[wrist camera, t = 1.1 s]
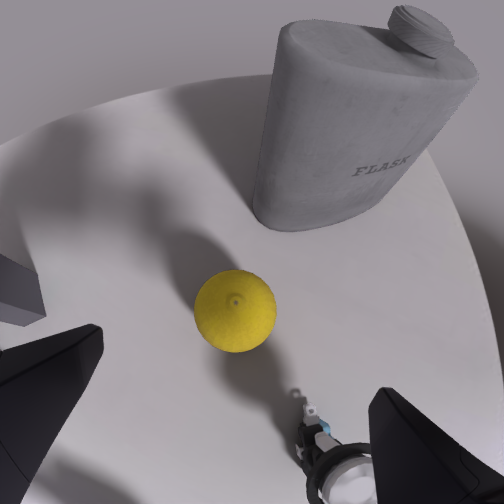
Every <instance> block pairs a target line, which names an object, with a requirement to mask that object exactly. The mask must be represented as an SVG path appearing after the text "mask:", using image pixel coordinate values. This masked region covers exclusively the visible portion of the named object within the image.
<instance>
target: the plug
mask: <svg viewBox="0 0 504 504" xmlns="http://www.w3.org/2000/svg"><path fill="white" fill-rule="evenodd" d="M44 317H46V313H45V308H44V304H43V300H42V295H41V290H40V285H39V280H38V275H37V274H36V273H34V272H33V271H31V270H29V269H27V268H25V267H23V266H21V265H19V264H18V263H16V262H14V261H12V260H10V259H9V258H7V257H5V256H3V255H2V254H0V321H2V322H6V323H10V324H14V325H18V326H23V327H25V326H27V325H29V324H31V323H33V322H35V321H37V320H40V319H42V318H44Z"/></svg>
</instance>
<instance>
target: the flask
mask: <svg viewBox="0 0 504 504" xmlns="http://www.w3.org/2000/svg"><path fill="white" fill-rule="evenodd" d="M388 27H389V29H390V30H387V29H380V28H373V27H367V26H359V25H353V24H347V23H340V22H333V21H325V20H315V19H314V20H302V21H296V22H292V23H289V24H287V25H285V26H284V27H282V28H281V31H280V34H279V38H278V44H277V50H276V57H275V63H274V69H273V75H272V81H271V88H270V94H269V100H268V107H267V113H266V119H265V126H264V132H263V139H262V145H261V152H260V158H259V164H258V171H257V178H256V184H255V191H254V197H253V204H252V205H253V210H254V214H255V216H256V217H257V219H258V220H259V221H260V223H262V224H263V225H265V226H266V227H268V228H269V229H273V230H276V231H281V232H297V231H306V230H311V229H316V228H321V227H325V226H329V225H333V224H336V223H339V222H342V221H345V220H347V219H350V218H352V217H355V216H357V215H359V214H361V213H363V212H365V211H366V210H368V209H370V208H372V207H373V206H374V205H376V204H377V203H379V202H380V201H381V199H382V198H383V197H384V196H385V195H386V194H387V193H388V192H389V190H390V189H391V188H392V187H393V186H394V185H395V184H396V182H397V181H398V180H399V179H400V178H401V177H402V176H403V174H404V173H405V172H406V171H407V170H408V169H409V167H410V166H411V165H412V164H413V163H414V162H415V160H416V159H417V158H418V157H419V156H420V154H421V153H422V152H423V151H424V150H425V148H426V147H427V146H428V145H429V143H430V142H431V141H432V140H433V139H434V137H435V136H436V135H437V134H438V132H439V131H440V130H441V129H442V128H443V126H444V125H445V124H446V122H447V121H448V120H449V119H450V117H451V116H452V115H453V114H454V112H455V111H456V110H457V108H458V107H459V106H460V105H461V103H462V102H463V101H464V99H465V98H466V97H467V95H468V94H469V93H470V91H471V90H472V89H473V87H474V86H475V84H476V83H477V82H478V80H479V74H478V72H477V70H476V68H475V66H474V64H473V63H472V62H471V61H470V59H469V58H468V57H467V56H466V55H465V54H463V53H462V52H461V51H460V50H459V49H458V48H457V47H455V46H454V40H453V36H452V35H451V32H450V31H449V29H448V28H447V27H446V26H445V25H444V24H443V23H442V22H440V21H439V20H438V19H436V18H435V17H433V16H432V15H430V14H428V13H427V12H425V11H423V10H420V9H418V8H416V7H413V6H409V5H405V6H403V5H401V6H396V7H395V8H394V9H393V12H392V14H391V16H390V19H389V21H388Z"/></svg>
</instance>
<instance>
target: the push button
mask: <svg viewBox="0 0 504 504" xmlns="http://www.w3.org/2000/svg"><path fill="white" fill-rule="evenodd" d="M310 409H311V410H310ZM303 410H304V416H305V417H303V422H304V423H301V424H300V427H299V428H298V430H299V435H300V438H301V440H302V443H303V447H302V448H299V446H298V445H297V444H296V452H297V455H298V457H299V458H300V459H301V460H303V462H301V464H302V470H303V472H304V473H305V475H306V476H307V481H306V488H307V491H306V493H307V499H308V501H309V503H310V504H376V503H377V495H376V487H375V479H374V471H373V464H372V458H370V457H366V456H364V455H363V454H371V450H370V444H369V443H361V442H360V443H352V444H344V445H342V444H341V443H340V442H339V441H338V440H336V439H334V438H333V437H332V436H331V435H330V433H331V432H330V426H329V424H328V423H326V422H324V421H323V420H321V419H319V416H318V417H317V412H316V405H313V404H312V403H308V404H304V405H303ZM309 410H310V411H309ZM318 488H319V490H320V492H321V493H322V499H321V498H319V496H318Z"/></svg>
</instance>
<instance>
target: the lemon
mask: <svg viewBox="0 0 504 504" xmlns="http://www.w3.org/2000/svg"><path fill="white" fill-rule="evenodd" d="M276 316H277V313H276V302H275V299H274V295H273V293H272V291H271V290H270V288H269V286H268V285H267V284H266V283H265V282H264V281H263V280H262V279H261V278H259V277H258V276H256V275H255V274H253V273H250V272H247V271H244V270H227V271H223V272H220V273H218V274H216V275H214V276H213V277H211V278H210V279H209V280H207V281H206V282H205V283H204V285H203V286H202V287H201V289H200V290H199V292H198V295H197V297H196V299H195V305H194V317H195V322H196V325H197V328H198V330H199V332H200V333H201V334H202V336H203V337H204V339H205V340H206V341H208V342H209V343H210V344H211V345H212V346H214V347H216V348H218V349H220V350H223V351H228V352H244V351H247V350H251V349H253V348H255V347H256V346H258V345H260V344H261V343H262V342H263V341H264V340H265V339H266V338H267V337H268V336H269V335H270V333H271V331H272V329H273V327H274V324H275V320H276Z"/></svg>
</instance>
